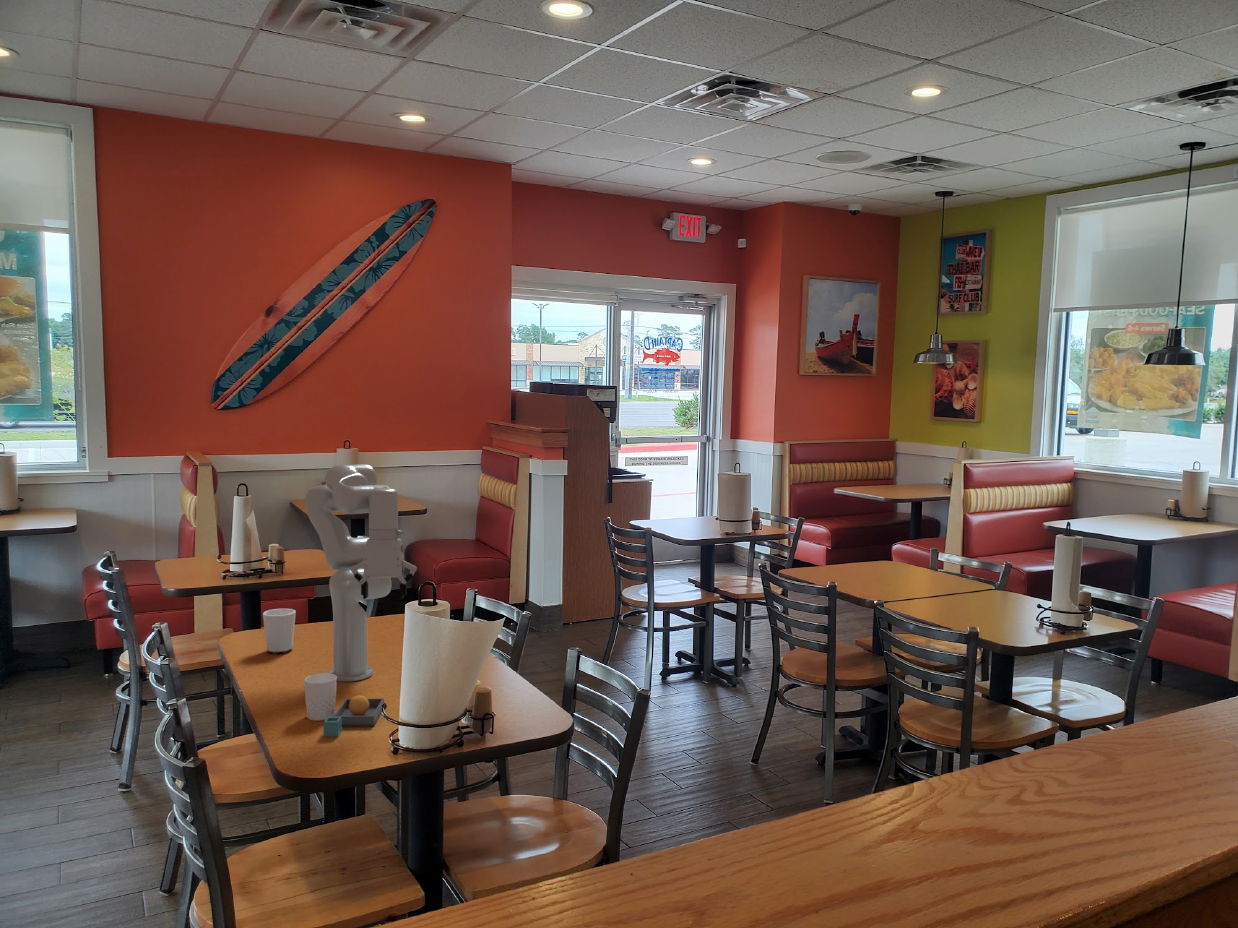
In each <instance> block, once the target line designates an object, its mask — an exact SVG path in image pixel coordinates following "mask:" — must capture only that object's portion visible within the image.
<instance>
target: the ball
mask: <svg viewBox="0 0 1238 928" xmlns="http://www.w3.org/2000/svg"><path fill="white" fill-rule="evenodd" d="M350 699H351V701H350V703H349V710H350V712H351V713H352V714H354V715H357V716H360V715H363V714H365V713H366V712H367V710H368V709H369V701H368V699H369V698H368V697H366V696H364V695H355V696H353V697H352V698H350Z"/></svg>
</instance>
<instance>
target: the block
mask: <svg viewBox="0 0 1238 928" xmlns="http://www.w3.org/2000/svg"><path fill="white" fill-rule="evenodd" d="M322 725H323V727H322V729H323V730H322V733H323V737H324V738H325V737H327V738H333V737H334V738H335V737H340V735H341V734H342V732H343V727H342V717H327V718H326V720H323V724H322Z"/></svg>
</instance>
